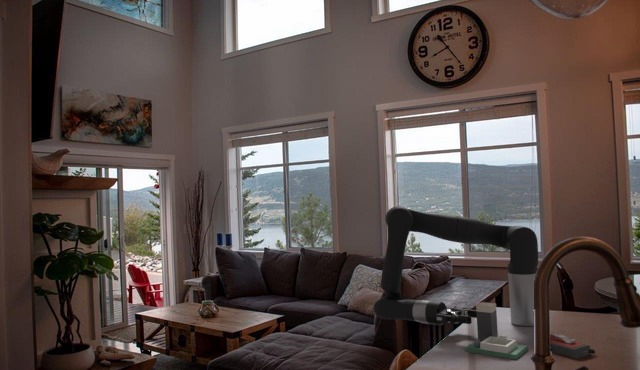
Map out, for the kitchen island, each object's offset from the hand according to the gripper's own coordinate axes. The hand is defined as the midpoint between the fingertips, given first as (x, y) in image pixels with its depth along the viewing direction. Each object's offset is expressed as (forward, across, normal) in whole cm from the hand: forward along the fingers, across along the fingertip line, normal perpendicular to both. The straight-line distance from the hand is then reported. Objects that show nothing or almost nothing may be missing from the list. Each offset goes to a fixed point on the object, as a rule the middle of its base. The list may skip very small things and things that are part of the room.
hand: (476, 317), depth 153 cm
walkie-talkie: (+23, +2, +7) cm, 24 cm away
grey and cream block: (+3, 0, +6) cm, 7 cm away
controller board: (+9, -9, +6) cm, 14 cm away
